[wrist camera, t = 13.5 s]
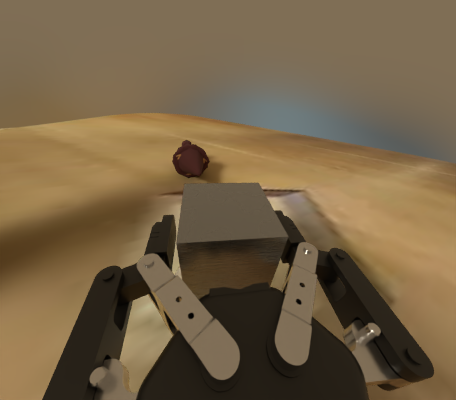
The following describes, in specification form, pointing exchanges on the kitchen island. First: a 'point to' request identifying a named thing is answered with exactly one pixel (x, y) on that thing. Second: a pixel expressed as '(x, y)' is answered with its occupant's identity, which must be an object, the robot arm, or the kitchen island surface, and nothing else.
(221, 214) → the grey block
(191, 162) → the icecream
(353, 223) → the kitchen island surface
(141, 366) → the kitchen island surface
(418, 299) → the kitchen island surface
